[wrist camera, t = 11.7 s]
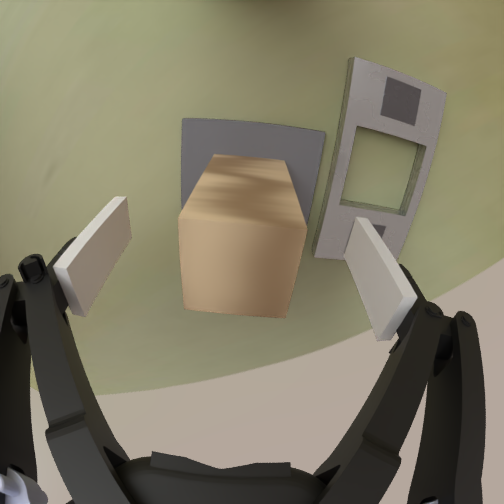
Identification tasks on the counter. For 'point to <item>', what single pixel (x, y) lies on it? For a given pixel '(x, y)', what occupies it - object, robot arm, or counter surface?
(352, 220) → the plate with rectangular hole
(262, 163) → the peg
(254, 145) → the mat
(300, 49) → the counter surface
